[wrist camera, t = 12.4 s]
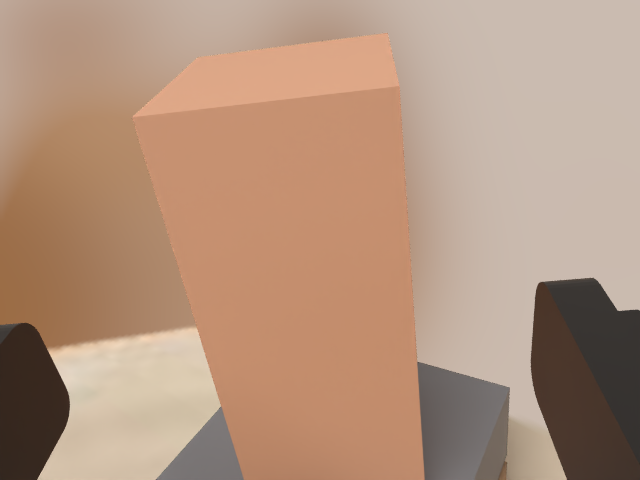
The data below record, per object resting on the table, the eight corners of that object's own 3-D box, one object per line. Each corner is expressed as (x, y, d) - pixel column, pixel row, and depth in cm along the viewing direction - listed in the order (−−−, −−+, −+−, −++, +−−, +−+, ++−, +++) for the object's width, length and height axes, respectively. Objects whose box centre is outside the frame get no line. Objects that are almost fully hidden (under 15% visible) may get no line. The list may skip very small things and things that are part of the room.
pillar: (254, 512, 17) (131, 117, 11) (276, 387, 21) (197, 57, 15) (426, 507, 16) (399, 86, 10) (412, 380, 20) (387, 32, 14)
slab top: (166, 566, 19) (135, 501, 17) (304, 386, 26) (292, 326, 24) (414, 718, 15) (406, 653, 13) (506, 455, 21) (509, 387, 19)
